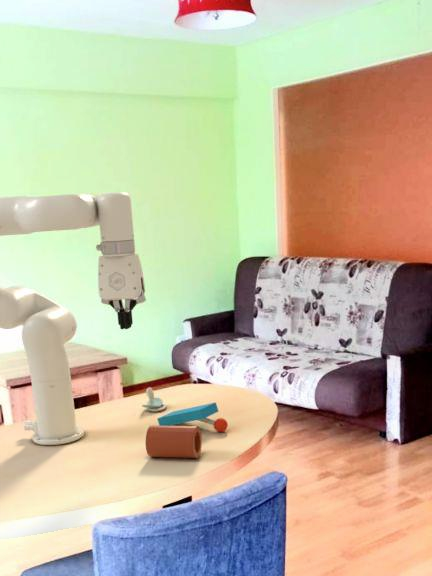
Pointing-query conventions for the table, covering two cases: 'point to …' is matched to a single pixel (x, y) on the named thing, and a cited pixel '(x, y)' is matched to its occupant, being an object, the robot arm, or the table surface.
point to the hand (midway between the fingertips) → (126, 328)
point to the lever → (194, 417)
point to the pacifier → (153, 401)
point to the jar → (173, 441)
